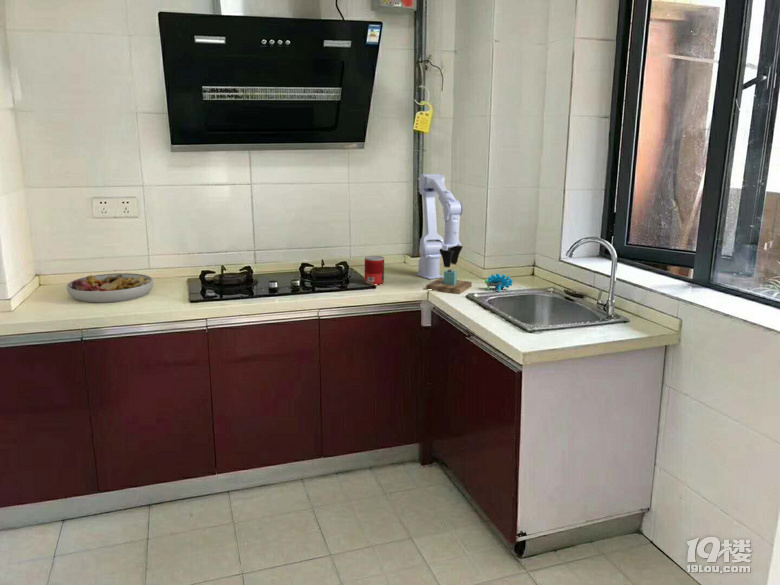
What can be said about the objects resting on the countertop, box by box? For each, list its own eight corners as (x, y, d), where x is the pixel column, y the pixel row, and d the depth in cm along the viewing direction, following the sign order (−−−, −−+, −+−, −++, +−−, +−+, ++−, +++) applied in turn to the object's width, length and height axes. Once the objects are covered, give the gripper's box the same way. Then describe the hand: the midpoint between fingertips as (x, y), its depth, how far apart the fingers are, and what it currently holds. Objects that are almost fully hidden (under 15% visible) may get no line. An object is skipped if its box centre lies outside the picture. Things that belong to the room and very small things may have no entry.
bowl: (118, 281, 262) (116, 262, 260) (171, 291, 248) (169, 271, 246) (49, 297, 237) (47, 277, 235) (105, 309, 223) (102, 287, 221)
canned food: (386, 284, 264) (387, 258, 261) (368, 286, 261) (368, 259, 258) (380, 280, 270) (380, 255, 268) (362, 282, 268) (362, 256, 265)
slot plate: (426, 289, 257) (426, 284, 256) (439, 282, 269) (439, 277, 268) (459, 294, 251) (459, 289, 250) (471, 286, 263) (471, 281, 262)
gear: (515, 285, 259) (510, 271, 252) (513, 297, 256) (508, 284, 249) (488, 286, 264) (482, 272, 256) (486, 298, 261) (481, 285, 253)
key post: (443, 288, 259) (444, 270, 257) (446, 286, 262) (446, 268, 260) (453, 289, 257) (454, 271, 255) (456, 288, 260) (457, 269, 258)
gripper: (454, 235, 246) (453, 269, 250) (467, 230, 259) (466, 263, 262) (437, 233, 249) (436, 267, 253) (451, 228, 262) (449, 261, 265)
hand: (450, 265), depth 258 cm, fingers open, 7 cm apart
